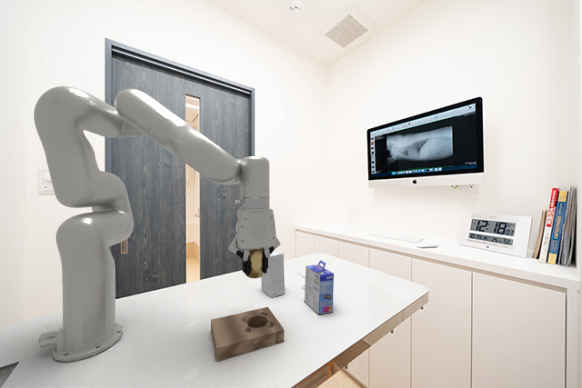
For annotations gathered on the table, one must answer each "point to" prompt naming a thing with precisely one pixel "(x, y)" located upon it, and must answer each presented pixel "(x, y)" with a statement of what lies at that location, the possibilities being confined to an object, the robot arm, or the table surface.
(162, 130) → the robot arm
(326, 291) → the ink cartridge box
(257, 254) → the brass cylinder
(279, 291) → the skincare box
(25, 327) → the table surface
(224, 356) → the jig
